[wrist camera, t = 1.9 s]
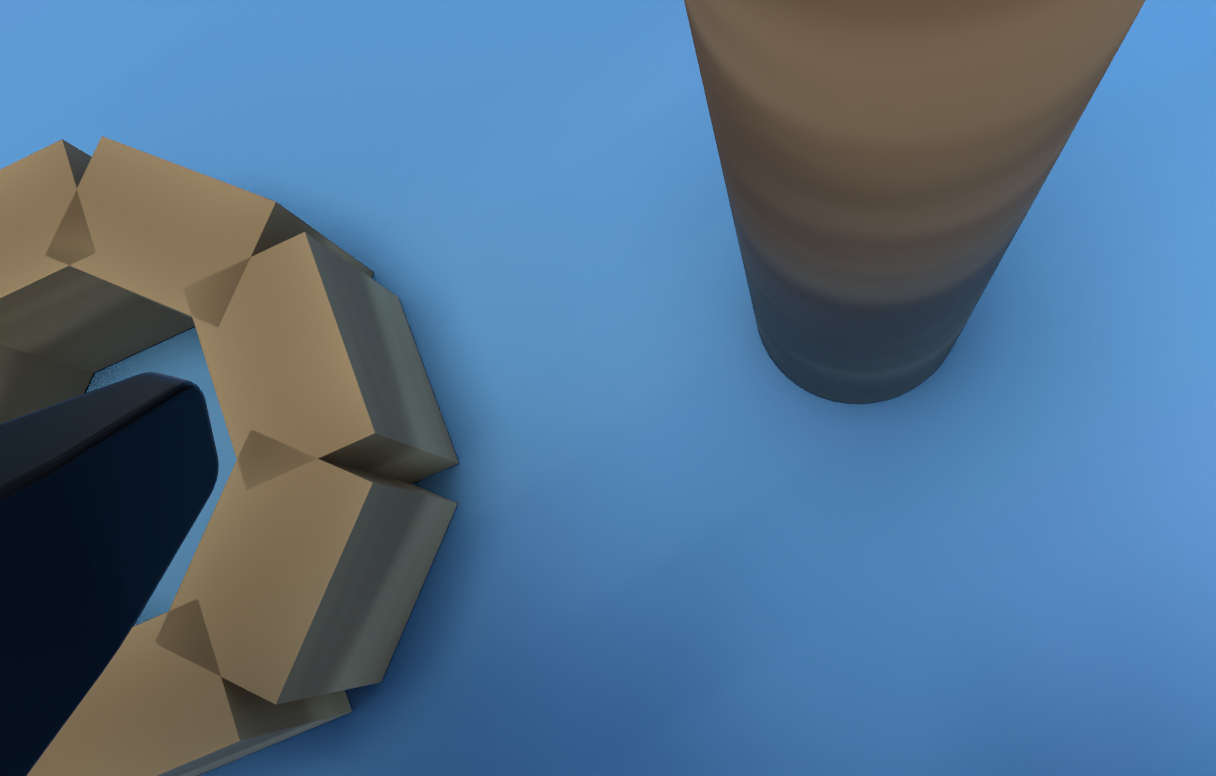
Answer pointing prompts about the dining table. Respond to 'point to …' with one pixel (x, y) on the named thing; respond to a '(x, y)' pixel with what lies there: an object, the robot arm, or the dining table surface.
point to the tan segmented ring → (261, 437)
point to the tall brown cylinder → (888, 163)
